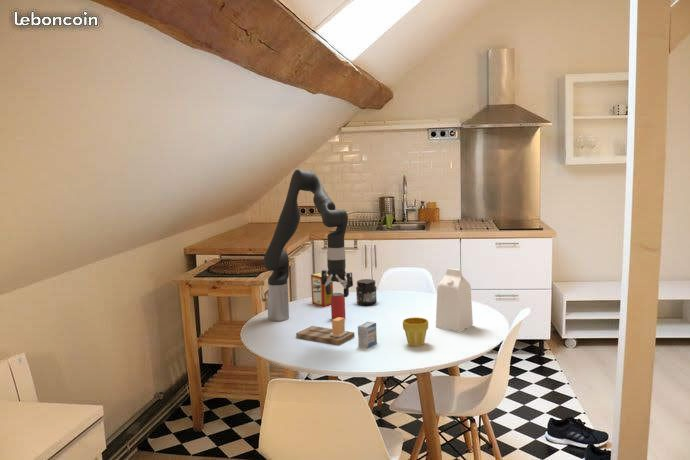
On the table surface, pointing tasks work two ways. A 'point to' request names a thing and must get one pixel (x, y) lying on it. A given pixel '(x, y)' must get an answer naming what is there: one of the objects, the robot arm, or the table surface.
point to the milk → (454, 302)
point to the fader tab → (338, 327)
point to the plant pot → (415, 330)
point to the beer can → (338, 305)
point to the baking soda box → (320, 291)
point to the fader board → (323, 335)
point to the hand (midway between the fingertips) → (337, 295)
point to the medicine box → (367, 334)
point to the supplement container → (366, 292)
